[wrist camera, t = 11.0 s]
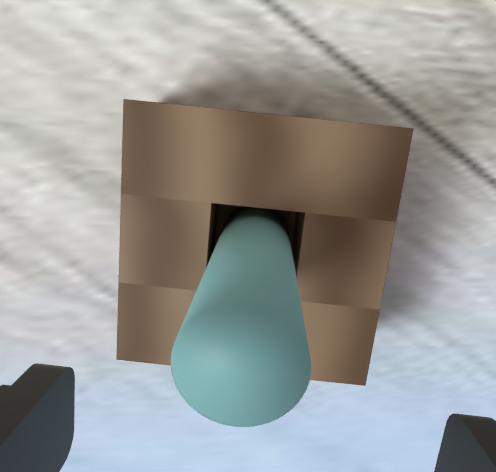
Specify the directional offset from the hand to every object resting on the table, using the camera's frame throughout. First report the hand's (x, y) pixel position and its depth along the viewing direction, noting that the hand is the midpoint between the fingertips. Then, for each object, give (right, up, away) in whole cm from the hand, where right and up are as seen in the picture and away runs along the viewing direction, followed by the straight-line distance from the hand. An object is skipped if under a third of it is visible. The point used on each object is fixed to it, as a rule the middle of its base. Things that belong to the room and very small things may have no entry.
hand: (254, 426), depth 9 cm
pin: (0, +4, +18) cm, 18 cm away
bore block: (0, +5, +19) cm, 20 cm away
